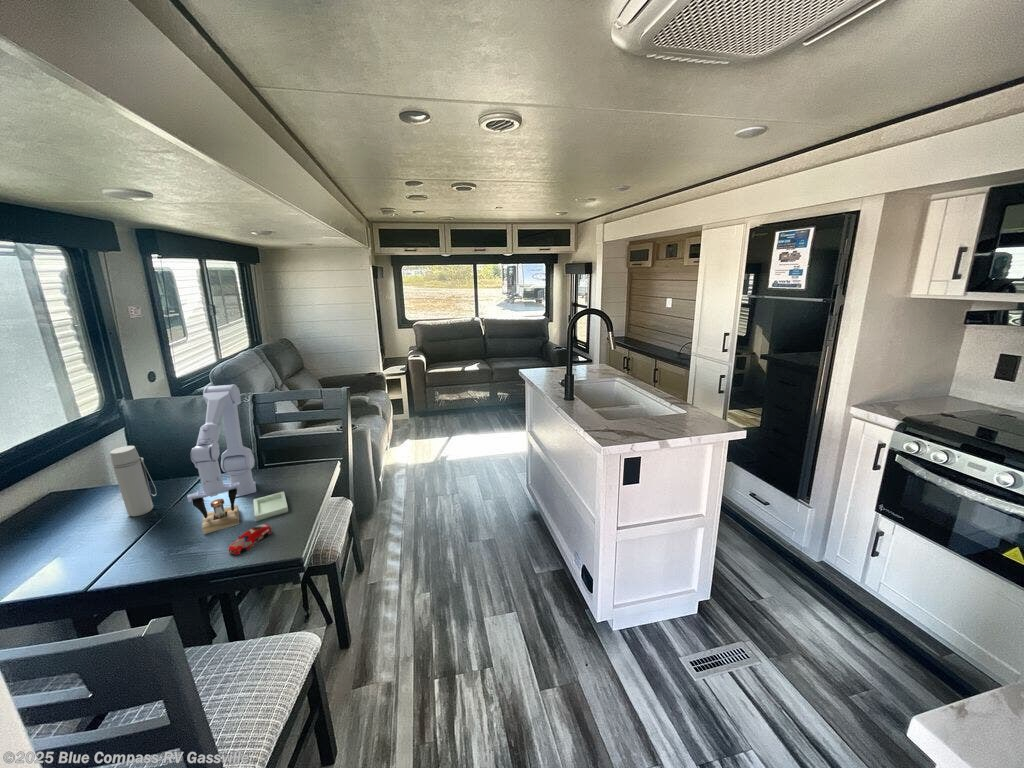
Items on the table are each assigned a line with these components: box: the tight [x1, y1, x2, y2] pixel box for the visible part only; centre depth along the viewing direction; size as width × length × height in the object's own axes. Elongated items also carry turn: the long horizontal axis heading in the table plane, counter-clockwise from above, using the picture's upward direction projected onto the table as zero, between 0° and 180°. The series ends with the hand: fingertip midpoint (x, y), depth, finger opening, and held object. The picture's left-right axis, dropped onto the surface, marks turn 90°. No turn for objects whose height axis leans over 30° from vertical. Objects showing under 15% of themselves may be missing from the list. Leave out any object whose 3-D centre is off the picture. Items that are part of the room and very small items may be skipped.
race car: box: [228, 523, 273, 556], centre depth 131 cm, size 13×5×4 cm, turn 157°
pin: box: [210, 498, 226, 520], centre depth 141 cm, size 4×4×8 cm
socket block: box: [201, 504, 240, 535], centre depth 142 cm, size 10×10×2 cm
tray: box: [252, 490, 289, 522], centre depth 150 cm, size 13×10×2 cm
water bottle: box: [109, 445, 157, 517], centre depth 146 cm, size 9×8×25 cm
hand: (219, 512), depth 141 cm, fingers open, 7 cm apart
